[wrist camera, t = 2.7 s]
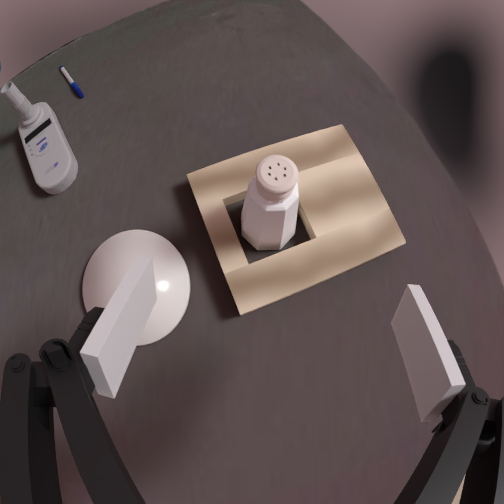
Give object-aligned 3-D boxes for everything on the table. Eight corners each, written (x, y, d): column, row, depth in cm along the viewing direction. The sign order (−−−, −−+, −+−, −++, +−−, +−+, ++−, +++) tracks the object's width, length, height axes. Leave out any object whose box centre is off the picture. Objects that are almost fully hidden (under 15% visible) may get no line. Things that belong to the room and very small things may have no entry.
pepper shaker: (280, 190, 32) (295, 127, 21) (305, 239, 31) (333, 192, 20) (230, 211, 31) (221, 153, 20) (253, 261, 30) (255, 224, 19)
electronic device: (4, 170, 22) (-12, 91, 25) (51, 204, 32) (23, 128, 34) (45, 134, 23) (21, 63, 25) (86, 177, 33) (52, 105, 35)
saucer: (75, 255, 30) (72, 254, 29) (169, 215, 31) (167, 212, 30) (105, 359, 28) (101, 359, 27) (208, 322, 29) (207, 322, 28)
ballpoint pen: (86, 96, 35) (83, 91, 34) (81, 100, 35) (78, 95, 34) (63, 67, 37) (60, 63, 36) (58, 70, 37) (56, 66, 36)
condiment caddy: (190, 183, 32) (186, 174, 30) (337, 134, 33) (342, 124, 31) (240, 315, 29) (240, 314, 27) (397, 247, 31) (406, 242, 29)
